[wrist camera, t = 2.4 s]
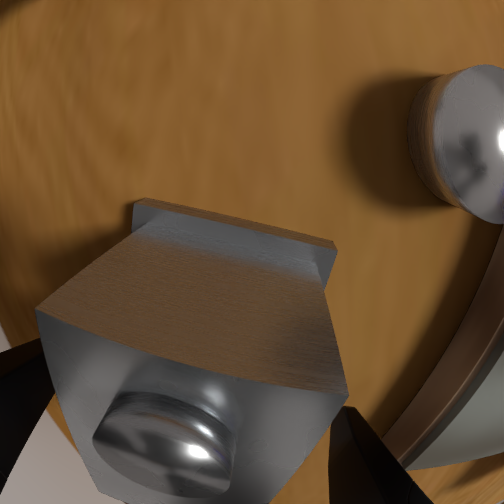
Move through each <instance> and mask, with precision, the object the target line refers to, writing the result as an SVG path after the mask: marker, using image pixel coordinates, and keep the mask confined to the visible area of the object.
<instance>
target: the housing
mask: <svg viewBox="0 0 504 504" xmlns="http://www.w3.org/2000/svg"><path fill="white" fill-rule="evenodd" d="M337 252H338V250H337V249H336V247H335V245H334V243H333V241H330V240H327V239H323V238H319V237H315V236H311V235H307V234H303V233H299V232H295V231H291V230H287V229H283V228H278V227H274V226H270V225H266V224H262V223H258V222H253V221H249V220H245V219H241V218H236V217H232V216H228V215H223V214H219V213H215V212H210V211H206V210H201V209H197V208H192V207H188V206H183V205H178V204H174V203H169V202H165V201H160V200H155V199H150V198H144V199H142V200H140V201H138V202H136V203H134V208H133V218H132V229H131V234H130V235H129V236H128V237H126V238H125V239H123V240H122V241H121V242H119V243H118V244H116V245H115V246H114V247H112V248H111V249H109V250H108V251H107V252H105V253H104V254H103V255H101V256H100V257H99V258H97V259H96V260H95V261H93V262H92V263H91V264H89V265H88V266H87V267H85V268H84V269H83V270H81V271H80V272H79V273H78V274H76V275H75V276H74V277H72V278H71V279H70V280H69V281H67V282H66V283H65V284H63V285H62V286H61V287H60V288H58V289H57V290H56V291H55V292H54V293H52V294H51V295H50V296H49V297H47V298H46V299H45V300H44V301H43V302H41V303H40V304H39V305H38V306H37V307H35V314H36V319H37V324H38V329H39V334H40V338H41V342H42V346H43V350H44V354H45V358H46V362H47V366H48V369H49V373H50V376H51V379H52V383H53V386H54V389H55V392H56V395H57V398H58V401H59V404H60V407H61V409H62V412H63V415H64V417H65V420H66V423H67V425H68V428H69V430H70V432H71V435H72V437H73V440H74V442H75V444H76V446H77V449H78V451H79V453H80V455H81V457H82V459H83V461H84V463H85V466H86V468H87V470H88V472H89V473H90V476H91V477H92V479H93V481H94V483H95V485H96V487H97V489H98V490H99V491H100V492H101V493H103V494H106V495H108V496H111V497H113V498H115V499H118V500H121V501H123V502H126V503H129V504H269V502H270V501H271V500H272V499H273V498H274V497H275V496H276V494H277V493H278V492H279V491H280V490H281V489H282V487H283V486H284V485H285V484H286V483H287V482H288V480H289V479H290V478H291V477H292V475H293V474H294V473H295V472H296V470H297V469H298V468H299V467H300V465H301V464H302V463H303V461H304V460H305V459H306V458H307V456H308V455H309V454H310V452H311V451H312V450H313V448H314V447H315V445H316V444H317V443H318V441H319V440H320V438H321V437H322V436H323V434H324V433H325V431H326V430H327V428H328V427H329V426H330V424H331V423H332V421H333V420H334V418H335V417H336V415H337V414H338V412H339V411H340V409H341V407H342V406H343V404H344V403H345V401H346V400H347V398H348V396H349V393H348V389H347V384H346V379H345V375H344V370H343V366H342V362H341V357H340V353H339V349H338V345H337V341H336V337H335V333H334V329H333V325H332V321H331V317H330V313H329V309H328V305H327V301H326V298H325V294H324V289H325V287H326V284H327V281H328V278H329V275H330V272H331V269H332V267H333V264H334V261H335V258H336V255H337Z"/></svg>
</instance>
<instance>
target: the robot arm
mask: <svg viewBox="0 0 504 504" xmlns="http://www.w3.org/2000/svg"><path fill="white" fill-rule="evenodd" d="M54 394H55V389H54V386H53V383H52V379H51V376H50V373H49V369H48V366H47V362H46V358H45V354H44V350H43V346H42V342H41V338H38V339H35V340H33V341H30V342H27V343H25V344H22V345H19V346H17V347H14V348H11V349H9V350H6V351H4V352H1V353H0V494H1V492H2V490H3V488H4V486H5V483H6V481H7V478H8V477H9V474H10V473H11V471H12V469H13V467H14V465H15V463H16V461H17V459H18V457H19V455H20V453H21V451H22V449H23V448H24V446H25V444H26V442H27V440H28V438H29V436H30V435H31V433H32V431H33V429H34V428H35V426H36V424H37V422H38V421H39V419H40V417H41V415H42V414H43V412H44V410H45V409H46V407H47V405H48V404H49V402H50V400H51V399H52V397H53V395H54ZM328 476H329V503H330V504H434V503H433V502H432V501H431V500H430V499H429V498H428V497H427V496H426V495H425V493H424V492H423V491H422V490H421V489H420V488H419V486H418V485H417V484H416V483H415V481H413V479H412V478H411V477H410V475H409V474H408V473H407V472H406V471H405V469H404V468H403V467H402V466H401V464H400V463H399V462H398V461H397V459H396V458H395V457H394V456H393V454H392V453H391V452H390V451H389V449H388V448H387V447H386V446H385V444H384V443H383V442H382V441H381V439H380V438H379V437H378V436H377V434H376V433H375V432H374V431H373V429H372V428H371V427H370V426H369V424H368V423H367V422H366V421H365V419H364V418H363V417H362V415H361V414H360V413H359V412H358V410H357V409H356V408H355V407H350V406H343V407H341V409H340V411H339V412H338V414H337V415H336V417H335V418H334V420H333V421H332V423H331V429H330V446H329V460H328Z"/></svg>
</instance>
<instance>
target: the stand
mask: <svg viewBox="0 0 504 504" xmlns="http://www.w3.org/2000/svg"><path fill="white" fill-rule="evenodd" d="M381 440H382V442H383V443H384V444H385V446H386V447H387V448H388V449H389V451H390V452H391V453H392V454H393V456H394V457H395V458H396V459H397V461H398V462H399V463H400V464H401V466H402V467H403V468H404V469H405V471H409V470H418V469H426V468H433V467H439V466H445V465H451V464H456V463H461V462H466V461H471V460H475V459H479V458H483V457H487V456H491V455H495V454H498V453H502V452H504V224H503V227H502V230H501V233H500V236H499V239H498V242H497V245H496V247H495V250H494V253H493V255H492V258H491V260H490V263H489V265H488V268H487V270H486V273H485V275H484V277H483V279H482V282H481V284H480V286H479V288H478V291H477V293H476V295H475V297H474V299H473V301H472V303H471V305H470V307H469V309H468V311H467V313H466V315H465V317H464V319H463V321H462V323H461V325H460V326H459V328H458V330H457V332H456V334H455V335H454V337H453V339H452V341H451V342H450V344H449V346H448V348H447V349H446V351H445V353H444V354H443V356H442V357H441V359H440V361H439V362H438V364H437V365H436V367H435V368H434V370H433V372H432V373H431V375H430V376H429V378H428V379H427V381H426V382H425V383H424V385H423V386H422V388H421V389H420V391H419V392H418V393H417V395H416V396H415V398H414V399H413V400H412V402H411V403H410V404H409V406H408V407H407V408H406V410H405V411H404V412H403V413H402V415H401V416H400V417H399V418H398V420H397V421H396V422H395V423H394V425H393V426H392V427H391V428H390V430H389V431H388V432H387V433H386V434H385V435H384V437H383V438H382V439H381Z"/></svg>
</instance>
